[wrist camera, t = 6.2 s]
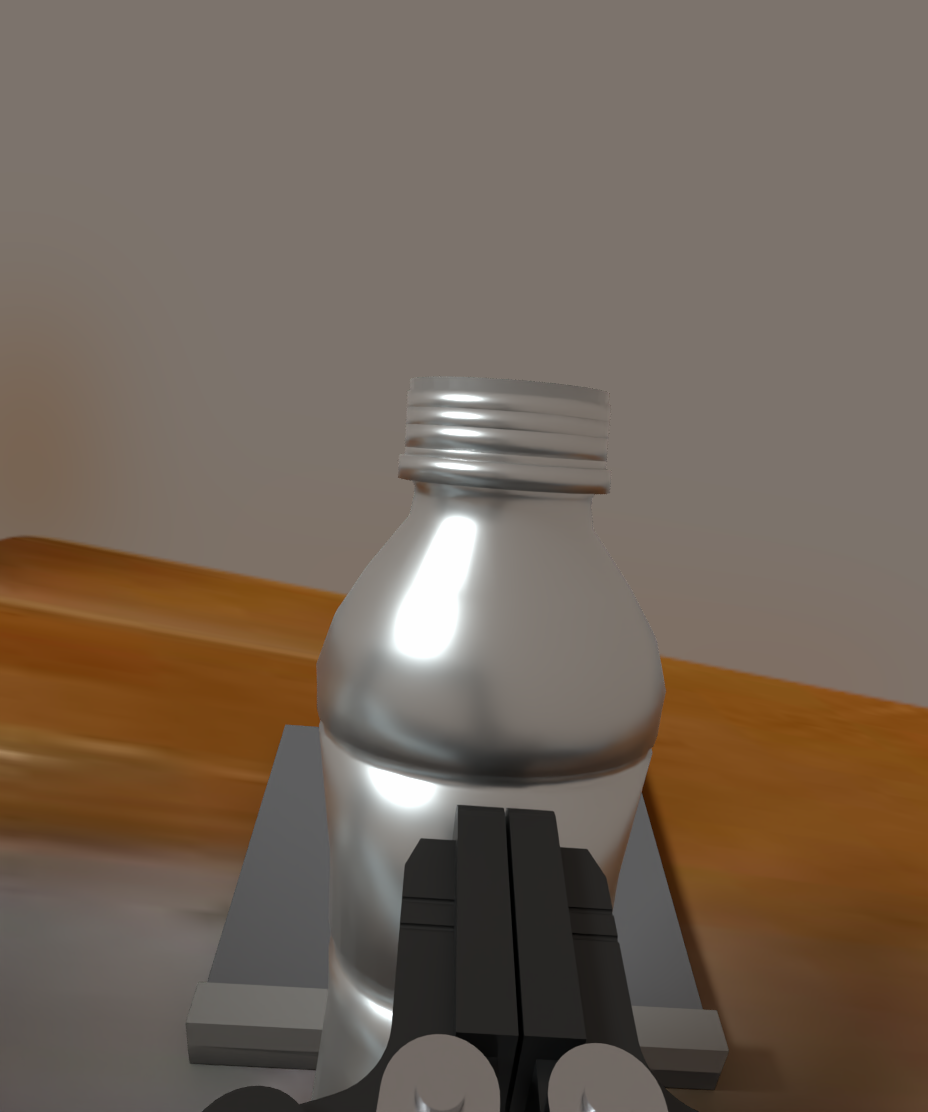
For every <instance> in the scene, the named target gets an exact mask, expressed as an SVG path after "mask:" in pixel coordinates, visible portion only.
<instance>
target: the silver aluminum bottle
mask: <svg viewBox="0 0 928 1112" xmlns="http://www.w3.org/2000/svg"><path fill="white" fill-rule="evenodd" d="M407 394H408V395H407V417H406V438H405V454H400V455H399V467H398V478H401V479H406V480H412V481H413V483H414V485H415V490H414V492H415V493H414V497H413V502H412V506H411V511H410V515H409V516H408V517H407V518H406V520H405V521H404V522H403V523H402V524H401V526H400V527H399V528H398V529H397V530H396V532H395V533H394V534H393V535H392V537H391V538H390V539H389V540H388V541H387V542H386V544H385V545H384V546H383V547H382V548H381V550H380V551H379V552H378V553H377V554H376V556H375V557H374V558H373V559H372V560H371V562H370V563H369V564H368V565H367V566H366V568H365V569H364V571H363V572H362V574H361V575H360V577H359V578H358V580H357V581H356V583H355V584H354V586H353V587H352V589H351V590H350V592H349V593H348V595H347V596H346V598H345V599H344V601H343V602H342V604H341V605H340V606H339V608H338V609H337V611H336V613H335V615H334V617H333V620H332V623H331V625H330V628H329V631H328V634H327V636H326V639H325V642H324V645H323V647H322V650H321V653H320V656H319V658H318V661H317V710H318V714H319V718H320V720H321V721H320V724H319V732H320V744H321V755H322V766H323V778H324V789H325V801H326V812H327V824H328V835H329V846H330V883H329V924H330V930H331V936H330V942H329V975H328V996H327V1003H326V1009H325V1016H324V1022H323V1029H322V1035H321V1041H320V1048H319V1054H318V1061H317V1067H316V1074H315V1080H314V1087H313V1093H312V1099H311V1101H313V1100H316V1099H319V1098H322V1097H326V1096H329V1095H332V1094H335V1093H338V1092H340V1091H343V1090H346V1089H348V1088H349V1087H351V1086H353V1085H355V1084H356V1083H358V1082H359V1081H360V1080H362V1079H363V1078H364V1077H365V1076H367V1075H368V1073H369V1072H370V1071H371V1070H372V1069H373V1068H374V1067H375V1066H376V1064H377V1063H378V1062H379V1060H380V1059H381V1057H382V1055H383V1053H384V1051H385V1049H386V1047H387V1044H388V1041H389V1038H390V1032H391V1025H392V1012H393V1000H394V988H395V976H396V964H397V952H398V940H399V927H400V915H401V903H402V891H403V879H404V867H405V863H406V862H407V860H408V858H409V857H410V855H411V853H412V852H413V850H414V848H415V847H416V845H417V844H418V842H419V840H420V839H421V838H427V839H442V840H452V839H453V830H454V821H455V813H456V806H457V805H472V806H486V807H501V808H504V812H505V811H506V808H519V809H534V810H548V811H554V813H555V816H556V821H557V828H558V836H559V843H560V847H566V848H581V849H588V851H589V852H590V854H591V855H592V857H593V858H594V860H595V861H596V863H597V864H598V866H599V867H600V869H601V870H602V872H603V873H604V875H605V876H606V878H607V883H608V888H609V893H610V898H611V903H612V908H613V907H614V901H615V895H616V889H617V883H618V877H619V873H620V869H621V865H622V862H623V858H624V854H625V851H626V847H627V843H628V840H629V836H630V832H631V829H632V825H633V821H634V818H635V814H636V810H637V807H638V803H639V799H640V796H641V792H642V789H643V785H644V781H645V778H646V774H647V770H648V767H649V763H650V759H651V756H652V749H651V748H652V747H653V746H654V743H655V741H656V738H657V735H658V729H659V724H660V718H661V712H662V707H663V702H664V698H665V693H666V689H665V684H664V678H663V672H662V667H661V661H660V655H659V651H658V644H657V641H656V638H655V635H654V633H653V631H652V629H651V627H650V625H649V623H648V621H647V619H646V617H645V615H644V613H643V611H642V609H641V607H640V606H639V603H638V602H637V599H636V597H635V596H634V594H633V592H632V590H631V587H630V586H629V584H628V583H627V581H626V579H625V578H624V576H623V575H622V573H621V571H620V570H619V568H618V567H617V565H616V563H615V562H614V560H613V559H612V557H611V556H610V554H609V552H608V551H607V549H606V548H605V546H604V544H603V543H602V541H601V540H600V538H599V537H598V535H597V533H596V532H595V530H594V529H593V520H592V509H591V505H592V498H593V497H594V495H595V494H608V493H610V484H611V470H608V469H606V462H607V449H608V448H607V447H608V436H609V425H610V413H611V405H610V404H609V397H610V393H608V392H606V391H602V390H597V389H591V388H586V387H579V386H572V385H563V384H555V383H545V382H535V381H523V380H509V379H494V378H475V377H417V378H412V379H410V390H408V391H407ZM612 913H613V911H612Z"/></svg>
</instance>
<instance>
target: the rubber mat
mask: <svg viewBox="0 0 928 1112" xmlns="http://www.w3.org/2000/svg"><path fill="white" fill-rule="evenodd" d="M329 883H330V846H329V835H328V824H327V812H326V801H325V789H324V778H323V766H322V755H321V744H320V732H319V727H310V726H295V725H285V728H284V731H283V735H282V738H281V741H280V744H279V748H278V751H277V754H276V758H275V761H274V764H273V767H272V771H271V774H270V777H269V781H268V784H267V787H266V790H265V794H264V797H263V800H262V804H261V807H260V810H259V813H258V817H257V820H256V823H255V827H254V830H253V833H252V836H251V840H250V843H249V846H248V850H247V853H246V856H245V859H244V863H243V866H242V869H241V873H240V876H239V879H238V882H237V886H236V889H235V892H234V896H233V899H232V902H231V905H230V909H229V912H228V915H227V919H226V922H225V925H224V928H223V932H222V935H221V938H220V942H219V945H218V948H217V951H216V955H215V958H214V961H213V965H212V968H211V971H210V974H209V978H208V981H207V982H198V985H197V988H196V991H195V994H194V997H193V1001H192V1004H191V1007H190V1010H189V1013H188V1016H187V1020H186V1031H187V1041H188V1051H189V1061H190V1063H196V1064H216V1065H236V1066H256V1067H275V1068H295V1069H315V1070H316V1067H317V1061H318V1054H319V1048H320V1041H321V1035H322V1029H323V1022H324V1016H325V1009H326V1003H327V996H328V975H329V942H330V936H331V930H330V924H329ZM612 914H613V916H614V919H615V924H616V929H617V934H618V942H619V944H620V949H621V954H622V959H623V965H624V970H625V975H626V980H627V985H628V990H629V995H630V1000H631V1005H632V1011H633V1016H634V1021H635V1026H636V1031H637V1036H638V1041H639V1045H640V1048H641V1052H642V1054H643V1056H644V1059H645V1061H646V1063H647V1065H648V1067H649V1068H650V1070H651V1072H652V1073H653V1074H654V1076H655V1077H656V1078H657V1080H658V1081H659V1082H660V1083H661V1085H662V1086H663V1087H671V1088H690V1089H710V1090H714V1089H715V1087H716V1084H717V1081H718V1079H719V1076H720V1073H721V1071H722V1068H723V1066H724V1063H725V1060H726V1058H727V1055H728V1052H729V1050H728V1046H727V1043H726V1040H725V1036H724V1033H723V1029H722V1026H721V1023H720V1019H719V1016H718V1013H717V1010H703V1008H702V1005H701V1001H700V998H699V994H698V990H697V987H696V983H695V980H694V976H693V973H692V969H691V966H690V962H689V958H688V955H687V951H686V948H685V944H684V941H683V937H682V934H681V930H680V927H679V923H678V919H677V916H676V912H675V909H674V905H673V902H672V898H671V895H670V891H669V887H668V884H667V880H666V877H665V873H664V870H663V866H662V863H661V859H660V855H659V852H658V848H657V845H656V841H655V838H654V834H653V831H652V827H651V824H650V820H649V816H648V813H647V809H646V806H645V802H644V799H643V795H642V792H641V796H640V799H639V803H638V807H637V810H636V814H635V818H634V821H633V825H632V829H631V832H630V836H629V840H628V843H627V847H626V851H625V854H624V858H623V862H622V865H621V869H620V873H619V877H618V883H617V889H616V895H615V901H614V907H613V913H612Z"/></svg>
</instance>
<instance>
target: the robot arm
mask: <svg viewBox="0 0 928 1112" xmlns="http://www.w3.org/2000/svg"><path fill="white" fill-rule="evenodd" d="M612 911H613V908H612V903H611V898H610V893H609V888H608V883H607V878H606V876H605V875H604V873H603V872H602V870H601V869H600V867H599V866H598V864H597V863H596V861H595V860H594V858H593V857H592V855H591V854H590V852H589V851H588V849H581V848H566V847H560V843H559V836H558V828H557V821H556V816H555V813H554V811H548V810H534V809H519V808H506V811H505V812H504V808H501V807H486V806H472V805H457V806H456V813H455V821H454V830H453V839H452V840H442V839H427V838H421V839H420V840H419V842H418V844H417V845H416V847H415V848H414V850H413V852H412V853H411V855H410V857H409V858H408V860H407V862H406V863H405V867H404V879H403V891H402V903H401V915H400V927H399V940H398V952H397V964H396V976H395V988H394V1000H393V1012H392V1025H391V1032H390V1038H389V1041H388V1044H387V1047H386V1049H385V1051H384V1053H383V1055H382V1057H381V1059H380V1060H379V1062H378V1063H377V1064H376V1066H375V1067H374V1068H373V1069H372V1070H371V1071H370V1072H369V1073H368V1075H367V1076H365V1077H364V1078H363V1079H362V1080H360V1081H359V1082H358V1083H356V1084H355V1085H353V1086H351V1087H349V1088H348V1089H346V1090H343V1091H340V1092H338V1093H335V1094H332V1095H329V1096H326V1097H322V1098H319V1099H316V1100H313V1101H309V1102H306V1103H303V1104H300V1105H299V1104H298V1103H297V1102H296V1101H295V1100H294V1099H293V1098H291V1097H290V1096H289V1095H288V1094H286V1093H284V1092H282V1091H280V1090H278V1089H274V1088H271V1087H265V1086H249V1087H244V1088H240V1089H236V1090H234V1091H232V1092H229V1093H227V1094H225V1095H223V1096H222V1097H220V1098H218V1099H217V1100H215V1101H214V1102H213V1103H211V1104H210V1105H209V1106H208V1107H207V1108H205V1109H204V1110H203V1111H202V1112H698V1111H696V1110H694V1109H692V1108H690V1107H688V1106H687V1105H685V1104H684V1103H682V1102H681V1101H679V1100H678V1099H677V1098H675V1097H674V1096H673V1095H672V1094H671V1093H669V1092H668V1091H667V1090H666V1089H665V1088H664V1087H663V1086H662V1085H661V1083H660V1082H659V1081H658V1080H657V1078H656V1077H655V1076H654V1074H653V1073H652V1072H651V1070H650V1068H649V1067H648V1065H647V1063H646V1061H645V1059H644V1056H643V1054H642V1052H641V1048H640V1045H639V1041H638V1036H637V1031H636V1026H635V1021H634V1016H633V1011H632V1005H631V1000H630V995H629V990H628V985H627V980H626V975H625V970H624V965H623V959H622V954H621V949H620V944H619V942H618V934H617V929H616V924H615V919H614V916H613V914H612Z"/></svg>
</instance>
